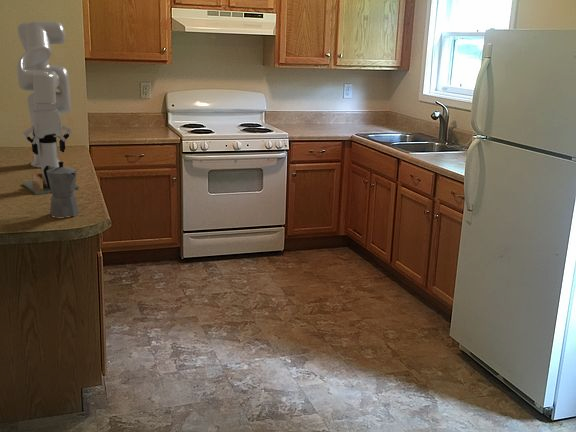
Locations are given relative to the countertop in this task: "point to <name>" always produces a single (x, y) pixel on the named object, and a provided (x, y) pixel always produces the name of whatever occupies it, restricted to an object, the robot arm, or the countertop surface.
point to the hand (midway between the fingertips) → (49, 152)
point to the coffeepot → (62, 190)
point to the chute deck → (38, 185)
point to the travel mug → (48, 154)
